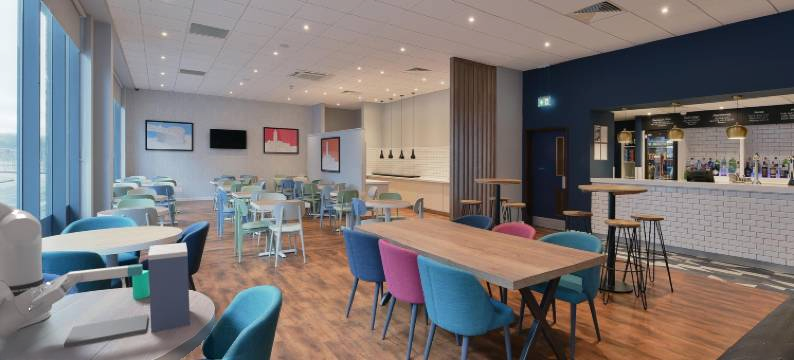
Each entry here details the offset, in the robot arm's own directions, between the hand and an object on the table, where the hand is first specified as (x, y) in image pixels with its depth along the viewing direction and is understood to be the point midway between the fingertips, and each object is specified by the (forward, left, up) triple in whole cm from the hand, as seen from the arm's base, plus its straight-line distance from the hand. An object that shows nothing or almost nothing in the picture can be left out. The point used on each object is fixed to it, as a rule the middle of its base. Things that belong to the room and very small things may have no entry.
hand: (83, 274), depth 130 cm
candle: (+13, +34, -21) cm, 42 cm away
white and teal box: (+6, 0, -2) cm, 7 cm away
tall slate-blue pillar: (+24, 0, -20) cm, 32 cm away
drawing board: (+6, 0, -20) cm, 21 cm away
